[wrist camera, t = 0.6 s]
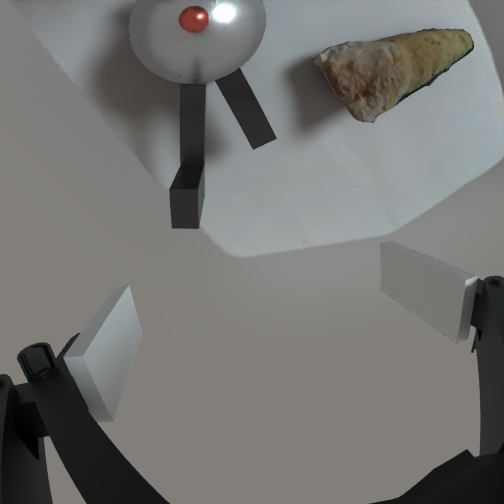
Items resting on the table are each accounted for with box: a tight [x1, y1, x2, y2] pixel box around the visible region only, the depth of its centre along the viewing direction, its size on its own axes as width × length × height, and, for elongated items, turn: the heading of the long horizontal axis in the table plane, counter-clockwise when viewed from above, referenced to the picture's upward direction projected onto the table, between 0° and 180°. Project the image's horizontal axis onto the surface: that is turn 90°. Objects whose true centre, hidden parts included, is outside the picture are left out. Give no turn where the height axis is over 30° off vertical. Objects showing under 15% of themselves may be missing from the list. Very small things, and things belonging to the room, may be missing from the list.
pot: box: [215, 68, 277, 150], centre depth 30 cm, size 26×13×9 cm, turn 27°
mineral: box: [313, 28, 474, 123], centre depth 31 cm, size 26×9×10 cm
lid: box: [129, 0, 266, 229], centre depth 25 cm, size 27×14×8 cm, turn 177°
